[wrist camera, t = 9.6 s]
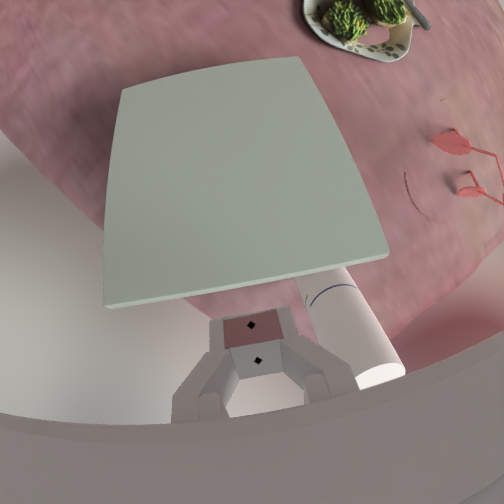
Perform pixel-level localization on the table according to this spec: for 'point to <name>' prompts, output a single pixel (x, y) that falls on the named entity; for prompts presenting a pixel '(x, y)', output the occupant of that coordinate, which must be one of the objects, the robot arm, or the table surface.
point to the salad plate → (364, 24)
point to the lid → (230, 185)
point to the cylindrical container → (349, 326)
